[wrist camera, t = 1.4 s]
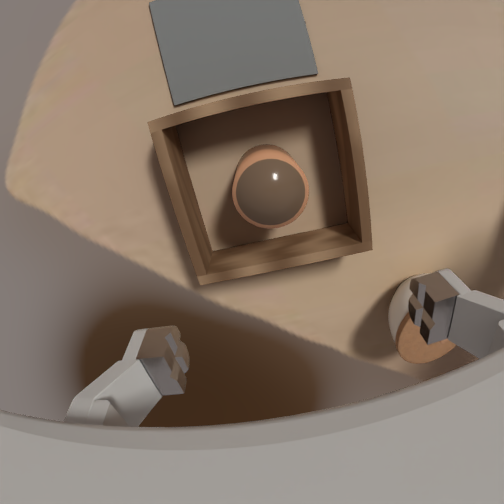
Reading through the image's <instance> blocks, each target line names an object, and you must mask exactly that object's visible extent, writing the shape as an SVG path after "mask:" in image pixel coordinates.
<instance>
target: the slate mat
mask: <svg viewBox="0 0 504 504" xmlns="http://www.w3.org/2000/svg"><path fill="white" fill-rule="evenodd" d="M149 5H150V9H151V14H152V18H153V22H154V27H155V31H156V35H157V39H158V43H159V47H160V51H161V55H162V59H163V63H164V67H165V71H166V75H167V79H168V83H169V87H170V91H171V94H172V98H173V102H174V105H178V104H182V103H185V102H188V101H192V100H195V99H198V98H202V97H206V96H209V95H213V94H217V93H221V92H225V91H229V90H233V89H237V88H242V87H246V86H251V85H255V84H260V83H265V82H270V81H276V80H281V79H287V78H293V77H299V76H306V75H313V74H318V71H317V67H316V62H315V58H314V54H313V50H312V47H311V43H310V39H309V35H308V32H307V28H306V24H305V21H304V17H303V14H302V11H301V7H300V4H299V1H298V0H155V1H152V2H150V3H149Z"/></svg>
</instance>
